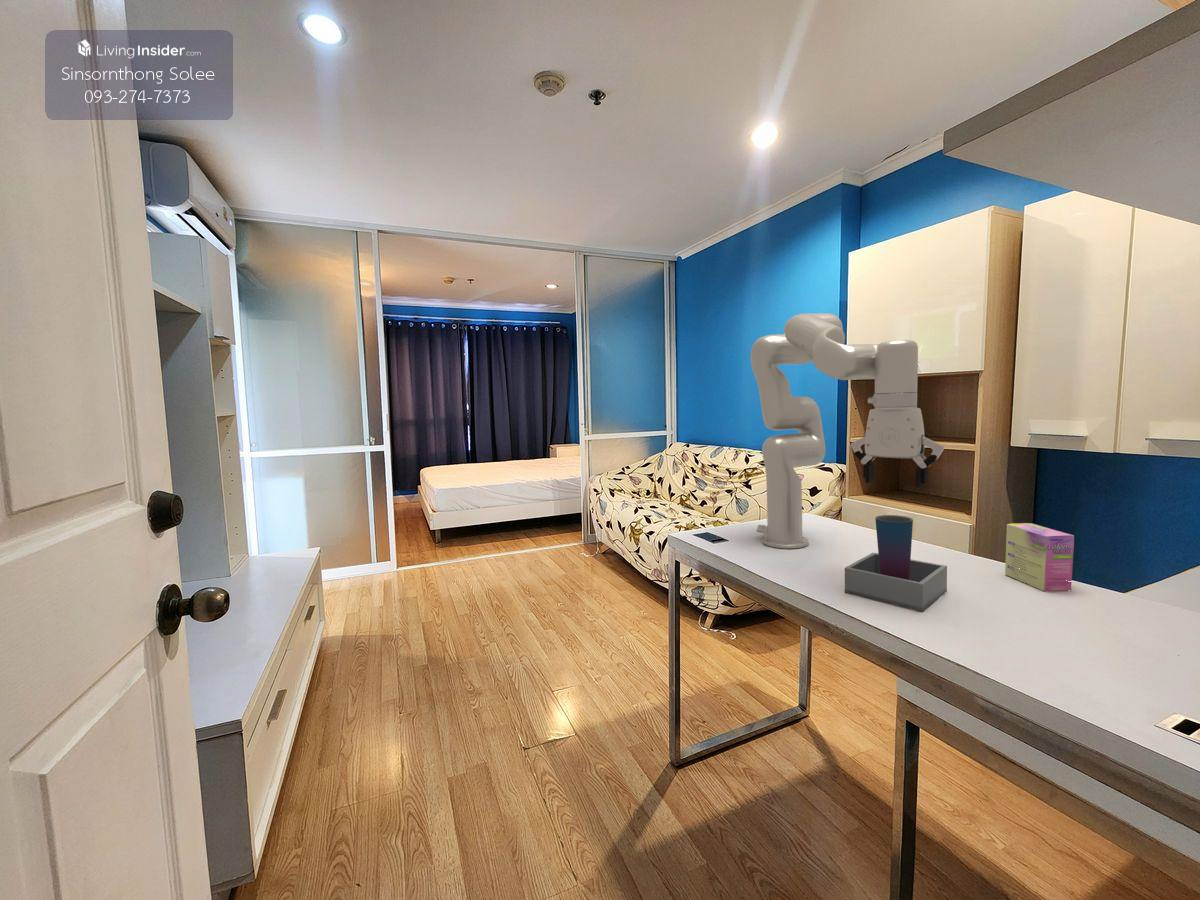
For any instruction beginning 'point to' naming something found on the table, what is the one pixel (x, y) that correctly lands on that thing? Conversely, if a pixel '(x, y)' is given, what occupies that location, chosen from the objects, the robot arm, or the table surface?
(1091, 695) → the table surface
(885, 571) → the cup
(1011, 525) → the box
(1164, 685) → the table surface
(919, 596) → the box
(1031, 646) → the table surface
